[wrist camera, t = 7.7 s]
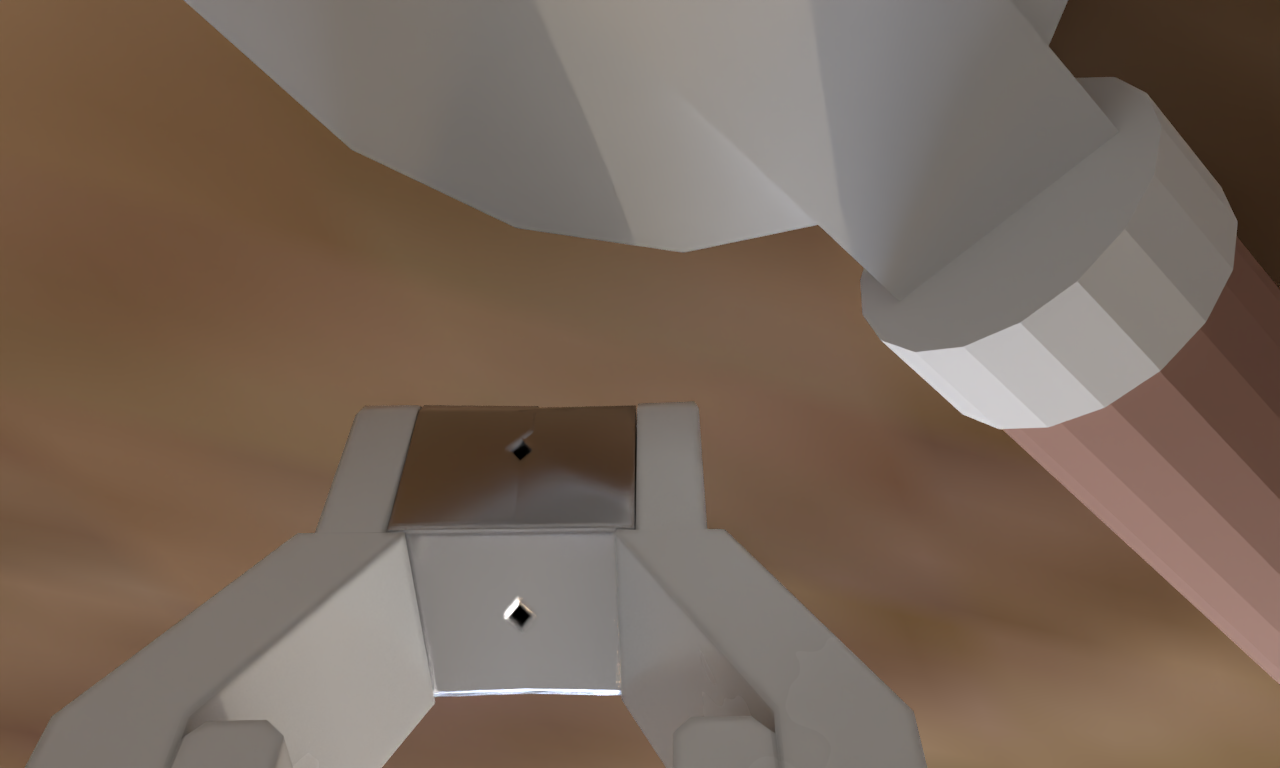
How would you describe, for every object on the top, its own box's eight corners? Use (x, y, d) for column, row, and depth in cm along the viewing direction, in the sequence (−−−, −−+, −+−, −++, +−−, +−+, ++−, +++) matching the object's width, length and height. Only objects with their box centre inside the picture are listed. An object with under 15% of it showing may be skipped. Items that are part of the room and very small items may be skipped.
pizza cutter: (1759, 622, 14) (1996, 846, 12) (1307, 823, 17) (1426, 1043, 14) (530, -1325, 5) (467, -2022, 3) (-36, -285, 8) (-319, -205, 6)
